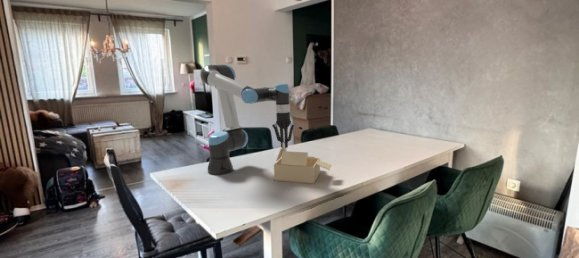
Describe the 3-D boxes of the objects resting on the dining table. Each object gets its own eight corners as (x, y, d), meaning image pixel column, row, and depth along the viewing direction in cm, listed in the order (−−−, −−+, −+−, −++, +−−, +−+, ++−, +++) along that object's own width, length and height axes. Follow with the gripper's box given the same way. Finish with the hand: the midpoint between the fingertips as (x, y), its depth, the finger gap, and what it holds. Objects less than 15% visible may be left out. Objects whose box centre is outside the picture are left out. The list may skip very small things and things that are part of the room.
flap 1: (276, 161, 175) (276, 160, 175) (281, 157, 182) (280, 157, 182) (281, 149, 173) (280, 149, 173) (285, 145, 180) (284, 145, 180)
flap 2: (280, 164, 169) (280, 164, 169) (283, 151, 172) (282, 151, 172) (306, 166, 165) (305, 165, 165) (307, 152, 168) (307, 152, 168)
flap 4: (329, 169, 167) (329, 170, 167) (331, 165, 175) (331, 165, 175) (316, 163, 169) (316, 164, 169) (319, 159, 176) (319, 160, 176)
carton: (274, 180, 172) (273, 164, 170) (284, 170, 189) (283, 156, 187) (313, 183, 166) (313, 167, 164) (320, 173, 183) (320, 158, 181)
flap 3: (293, 156, 194) (293, 157, 194) (290, 155, 187) (290, 156, 187) (315, 157, 190) (315, 158, 190) (313, 156, 183) (313, 157, 183)
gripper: (269, 112, 171) (271, 154, 175) (292, 112, 167) (293, 155, 172) (274, 111, 178) (276, 151, 182) (296, 111, 175) (297, 152, 179)
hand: (284, 153), depth 177 cm, fingers closed
